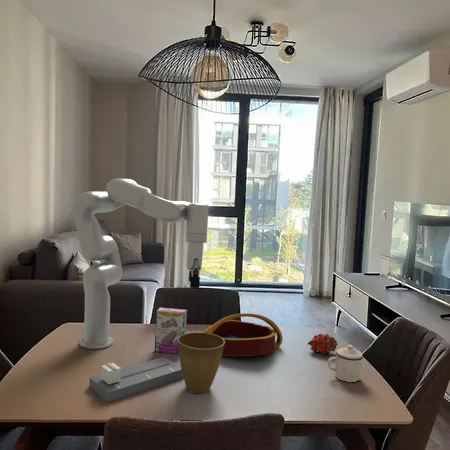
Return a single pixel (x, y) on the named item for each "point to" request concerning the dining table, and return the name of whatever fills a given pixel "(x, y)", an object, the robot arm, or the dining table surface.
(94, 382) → the fader panel
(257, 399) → the dining table surface
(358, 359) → the teacup with lid
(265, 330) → the decorative basket
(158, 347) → the candy bar box
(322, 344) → the dragon fruit
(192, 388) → the plant pot
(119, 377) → the fader knob
